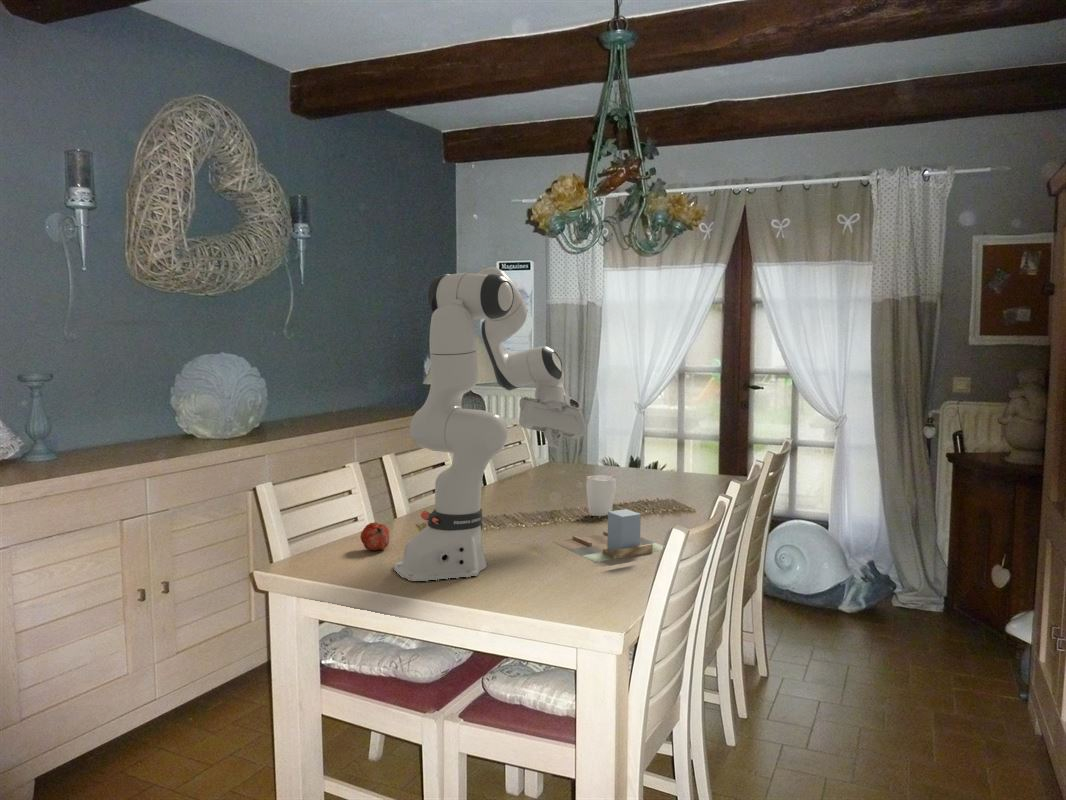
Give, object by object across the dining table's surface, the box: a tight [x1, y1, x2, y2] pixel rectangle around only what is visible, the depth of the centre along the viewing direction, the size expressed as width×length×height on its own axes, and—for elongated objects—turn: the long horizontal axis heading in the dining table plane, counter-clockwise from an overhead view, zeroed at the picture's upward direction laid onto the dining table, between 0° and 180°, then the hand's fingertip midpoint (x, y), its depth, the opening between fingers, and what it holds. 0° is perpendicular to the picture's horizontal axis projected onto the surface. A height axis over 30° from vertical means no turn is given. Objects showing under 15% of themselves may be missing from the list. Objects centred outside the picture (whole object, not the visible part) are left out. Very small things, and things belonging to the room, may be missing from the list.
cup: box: [585, 474, 616, 517], centre depth 243 cm, size 9×9×12 cm
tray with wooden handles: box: [553, 530, 664, 563], centre depth 209 cm, size 24×20×3 cm
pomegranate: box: [360, 522, 390, 551], centre depth 205 cm, size 7×7×10 cm
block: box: [607, 508, 642, 552], centre depth 204 cm, size 6×6×10 cm
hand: (554, 446), depth 219 cm, fingers closed
